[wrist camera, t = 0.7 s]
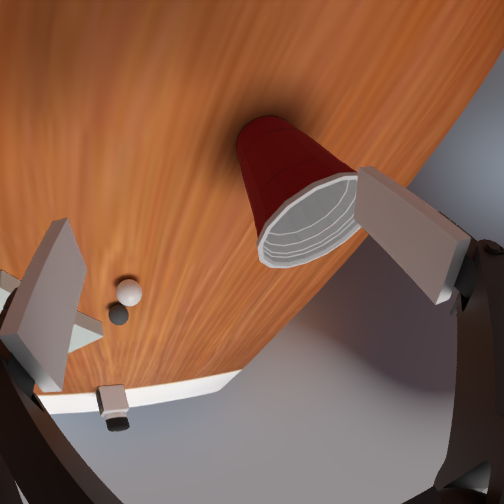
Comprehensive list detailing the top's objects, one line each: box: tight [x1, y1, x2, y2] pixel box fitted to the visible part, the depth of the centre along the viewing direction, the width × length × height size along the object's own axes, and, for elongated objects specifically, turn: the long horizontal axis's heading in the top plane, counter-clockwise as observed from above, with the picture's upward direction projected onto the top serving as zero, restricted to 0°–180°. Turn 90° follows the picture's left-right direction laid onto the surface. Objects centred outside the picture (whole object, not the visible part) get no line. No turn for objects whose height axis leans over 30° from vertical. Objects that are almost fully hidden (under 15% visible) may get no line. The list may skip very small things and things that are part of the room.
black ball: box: [109, 305, 129, 325], centre depth 43 cm, size 3×3×3 cm
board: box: [0, 270, 104, 353], centre depth 37 cm, size 20×16×2 cm
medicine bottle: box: [96, 385, 130, 432], centre depth 70 cm, size 7×7×12 cm
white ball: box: [116, 279, 142, 306], centre depth 39 cm, size 4×4×4 cm
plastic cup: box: [236, 116, 362, 268], centre depth 27 cm, size 11×11×12 cm
